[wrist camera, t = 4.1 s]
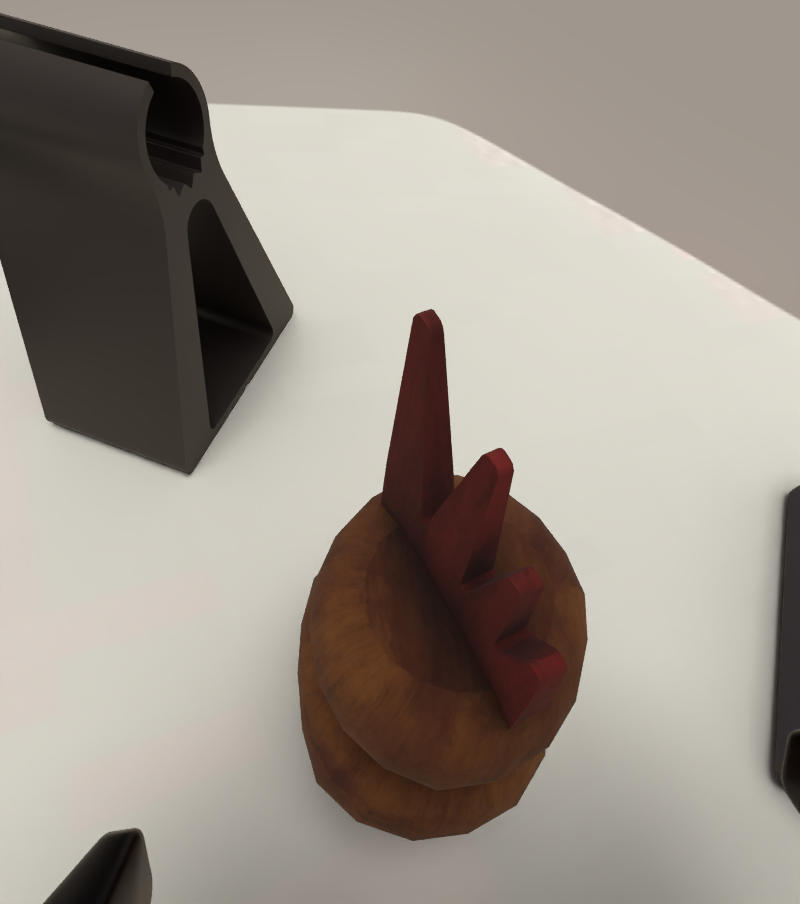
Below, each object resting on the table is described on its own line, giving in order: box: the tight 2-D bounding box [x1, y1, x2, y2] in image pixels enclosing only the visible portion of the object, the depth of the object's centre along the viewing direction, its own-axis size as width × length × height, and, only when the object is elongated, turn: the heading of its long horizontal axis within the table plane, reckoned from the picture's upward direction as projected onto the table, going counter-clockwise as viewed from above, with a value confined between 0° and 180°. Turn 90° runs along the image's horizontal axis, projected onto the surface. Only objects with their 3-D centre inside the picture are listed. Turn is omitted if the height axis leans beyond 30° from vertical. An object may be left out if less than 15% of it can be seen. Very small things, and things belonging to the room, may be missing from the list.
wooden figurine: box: [298, 309, 588, 841], centre depth 11 cm, size 7×6×15 cm
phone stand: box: [0, 13, 293, 473], centre depth 19 cm, size 9×6×12 cm, turn 160°
